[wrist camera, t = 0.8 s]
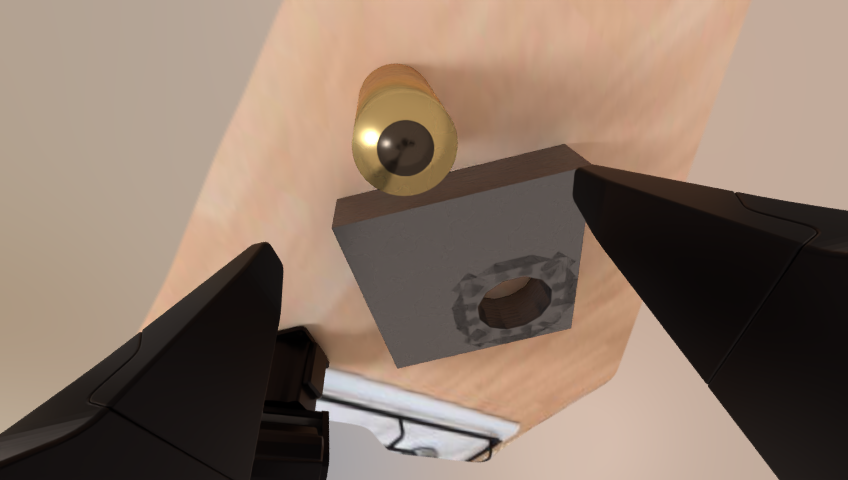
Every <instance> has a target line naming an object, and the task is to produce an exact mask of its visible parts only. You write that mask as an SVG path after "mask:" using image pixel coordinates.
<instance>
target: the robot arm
mask: <svg viewBox="0 0 848 480" xmlns="http://www.w3.org/2000/svg"><path fill="white" fill-rule="evenodd" d="M572 195H573V200H574V202H575V204H576V206H577V207H578V209H579V211H580V212H581V214H582V216H583V218H584V219H585V221H586V223H587V224H588V226H589V228H590V230H591V231H592V233H593V235H594V236H595V238H596V239H597V241H598V242H599V244H600V245H601V246H602V248H603V249H604V250H605V252H606V253H607V254H608V256H609V257H610V258H611V260H612V261H613V262H614V263H615V265H616V266H617V267H618V269H619V270H620V271H621V273H622V274H623V275H624V277H625V278H626V279H627V281H628V282H629V283H630V284H631V286H632V287H633V288H634V290H635V291H636V292H637V294H638V295H639V296H640V298H641V299H642V300H643V302H644V303H645V304H646V305H647V307H648V308H649V309H650V311H651V312H652V313H653V314H654V316H655V317H656V319H657V320H658V321H659V322H660V324H661V325H662V326H663V328H664V329H665V330H666V332H667V333H668V334H669V335H670V337H671V338H672V340H673V341H674V342H675V343H676V345H677V346H678V347H679V349H680V350H681V351H682V353H683V354H684V355H685V357H686V358H687V359H688V361H689V362H690V363H691V364H692V366H693V367H694V368H695V370H696V371H697V372H698V373H699V375H700V376H701V378H702V379H703V380H704V381H705V383H706V384H708V387H709V388H710V390H711V391H712V392H713V394H714V395H715V396H716V398H717V399H718V400H719V401H720V403H721V404H722V406H723V407H724V408H725V409H726V410H727V412H728V413H729V415H730V416H731V417H732V419H733V420H734V421H735V422H736V424H737V425H738V426H739V428H740V429H741V430H742V432H743V433H744V434H745V436H746V437H747V438H748V439H749V441H750V442H751V443H752V445H753V446H754V447H755V449H756V450H757V451H758V453H759V454H760V455H761V456H762V458H763V459H764V461H765V462H766V463H767V464H768V465H769V467H770V468H771V470H772V471H773V472H774V474H775V475H776V476H777V478H778V479H779V480H848V211H846V210H839V209H833V208H826V207H820V206H814V205H808V204H801V203H795V202H788V201H783V200H778V199H772V198H767V197H760V196H755V195H750V194H745V193H740V192H736V193H734V192H733V191H729V190H724V189H719V188H713V187H708V186H703V185H697V184H692V183H687V182H682V181H677V180H672V179H666V178H661V177H656V176H651V175H646V174H640V173H635V172H630V171H625V170H619V169H614V168H609V167H604V166H599V165H593V164H590V165H585V166H581V167H578V168H577V169H576V170H575V173H574V182H573V192H572ZM282 286H283V265H282V262H281V261H280V259H279V257H278V256H277V254H276V253H275V251H274V249H273V248H272V246H271V245H270V244H269V243H267V242H261V243H257V244H253V245H251V246H250V247H249V248H247V249H246V250H245V251H243V252H242V253H241V254H240V255H238V256H237V257H236V258H234V259H233V260H232V261H231V262H229V263H228V264H227V265H225V266H224V267H223V268H222V269H220V270H219V271H218V272H216V273H215V274H214V275H213V276H211V277H210V278H209V279H207V280H206V281H205V282H204V283H202V284H201V285H200V286H198V287H197V288H196V289H195V290H193V291H192V292H191V293H189V294H188V295H187V296H186V297H184V298H183V299H182V300H180V301H179V302H178V303H177V304H175V305H174V306H173V307H171V308H170V309H169V310H168V311H166V312H165V313H164V314H162V315H161V316H160V317H159V318H157V319H156V320H155V321H153V322H152V323H151V324H150V325H148V326H147V327H146V328H144V329H143V331H142V332H139V333H138V334H137V335H135V336H134V337H133V338H132V339H130V340H129V341H128V342H126V343H125V344H124V345H122V346H121V347H120V348H118V349H117V350H116V351H114V352H113V353H112V354H111V355H109V356H108V357H107V358H105V359H104V360H103V361H101V362H100V363H99V364H97V365H96V366H94V367H93V368H92V369H90V370H89V371H88V372H86V373H85V374H83V375H82V376H81V377H79V378H78V379H77V380H75V381H74V382H72V383H71V384H70V385H68V386H67V387H65V388H64V389H63V390H61V391H60V392H58V393H57V394H56V395H54V396H53V397H51V398H50V399H49V400H47V401H46V402H45V403H43V404H42V405H40V406H39V407H38V408H36V409H35V410H33V411H32V412H30V413H29V414H28V415H27V416H25V417H24V418H22V419H21V420H19V421H18V422H17V423H15V424H14V425H12V426H11V427H10V428H8V429H7V430H5V431H4V432H2V433H1V434H0V480H326V478H327V473H328V466H329V411H322V412H320V411H315V407H316V400H317V399H319V398H321V396H322V393H323V385H324V377H325V370H326V368H328V367H329V361H328V359H327V356H326V355H325V353H324V352H323V351H322V349H321V348H320V346H319V345H318V343H316V342H315V340H314V339H313V338H312V336H311V335H310V333H309V332H308V330H307V329H306V328H305V327H301V326H300V327H295V328H291V329H287V330H282V331H278V326H279V321H280V314H281V303H282Z"/></svg>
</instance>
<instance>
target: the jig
mask: <svg viewBox="0 0 848 480" xmlns="http://www.w3.org/2000/svg"><path fill="white" fill-rule="evenodd" d="M590 164H591V163H590V162H588V161H587V160H586V159H584V158H583V157H582V156H580V155H579V154H578V153H576V152H575V151H573V150H572V149H571V148H569V147H568V146H567V145H565V144H563V145H559V146H555V147H551V148H546V149H542V150H538V151H534V152H530V153H526V154H522V155H518V156H514V157H509V158H505V159H501V160H497V161H493V162H489V163H485V164H481V165H477V166H472V167H468V168H464V169H460V170H456V171H452V172H449V173H448V174H447V175H446V176H445V178H444V179H443V180H442V181H441V182H440V183H439V184H437V185H436V186H435V187H433V188H431V189H430V190H428V191H425V192H423V193H420V194H416V195H411V196H398V195H392V194H389V193H385V192H383V191H381V190H379V189H378V190H374V191H370V192H366V193H362V194H358V195H353V196H349V197H345V198H341V199H337V202H336V207H335V213H334V218H333V224H332V230H333V232H334V234H335V236H336V238H337V241H338V243H339V245H340V247H341V249H342V251H343V253H344V256H345V258H346V260H347V262H348V264H349V266H350V268H351V270H352V273H353V275H354V277H355V279H356V281H357V283H358V285H359V288H360V290H361V292H362V294H363V296H364V298H365V300H366V303H367V305H368V307H369V309H370V311H371V313H372V315H373V317H374V320H375V322H376V324H377V326H378V328H379V330H380V332H381V335H382V337H383V339H384V341H385V343H386V345H387V347H388V350H389V352H390V354H391V356H392V358H393V360H394V362H395V364H396V367H397V369H398V368H402V367H406V366H410V365H415V364H419V363H423V362H428V361H432V360H436V359H441V358H445V357H449V356H454V355H458V354H462V353H467V352H471V351H475V350H480V349H484V348H488V347H492V346H497V345H501V344H505V343H510V342H514V341H518V340H523V339H527V338H531V337H536V336H540V335H544V334H549V333H553V332H557V331H562V330H566V329H570V328H571V325H572V318H573V310H574V303H575V295H576V288H577V280H578V273H579V265H580V258H581V250H582V243H583V235H584V228H585V219H584V218H583V216H582V214H581V212H580V211H579V209H578V207H577V206H576V204H575V202H574V200H573V195H572V192H573V182H574V173H575V170H576V169H577V168H578V167H581V166H585V165H590ZM524 276H526V277H532V278H531V279H530V281H529V282H528V283H527V285H526V286H525V287H524V288H522V289H521V290H519V291H517V292H516V293H514V294H513V295H511V296H507V297H503V298H499V299H488V298H483V297H484V295H485V294H486V292H488V291H489V290H491V289H493V288H494V287H496V286H497V285H499V284H500V283H502V282H503V281H507V280H511V279H515V278H519V277H524Z"/></svg>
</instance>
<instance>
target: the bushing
mask: <svg viewBox="0 0 848 480" xmlns="http://www.w3.org/2000/svg"><path fill="white" fill-rule="evenodd" d="M352 151H353V157H354V160H355V163H356V166H357V168H358V170H359V171H360V173H361V174H362V176H363V177H364V178H365V179H366V180H367V181H368V182H369V183H370V184H371V185H373V186H374V187H375V188H377V189H379V190H381V191H383V192H385V193H389V194H392V195H398V196H411V195H416V194H420V193H423V192H425V191H428V190H430V189H431V188H433V187H435V186H436V185H437V184H439V183H440V182H441V181H442V180H443V179H444V178H445V176H446V175H447V174H448V173H449V171H450V169H451V168H452V165H453V163H454V161H455V158H456V153H457V134H456V130H455V127H454V124H453V122H452V120H451V118H450V117H449V115H448V114H447V112H446V110H445V109H444V107H443V106H442V104H441V103H440V101H439V100H438V98H437V97H436V95H435V94H434V92H433V91H432V89H431V88H430V86H429V85H428V83H427V82H426V80H425V79H424V77H423V76H422V75H421V74H420V73H418V72H417V71H416V70H414V69H413V68H411V67H408V66H406V65H402V64H388V65H384V66H381V67H379V68H377V69H376V70H374V71H373V72H372V73H371V74H370V75H369V76H368V77H367V78H366V79H365V81H364V83H363V84H362V87H361V89H360V93H359V99H358V105H357V112H356V119H355V125H354V132H353V139H352Z"/></svg>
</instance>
